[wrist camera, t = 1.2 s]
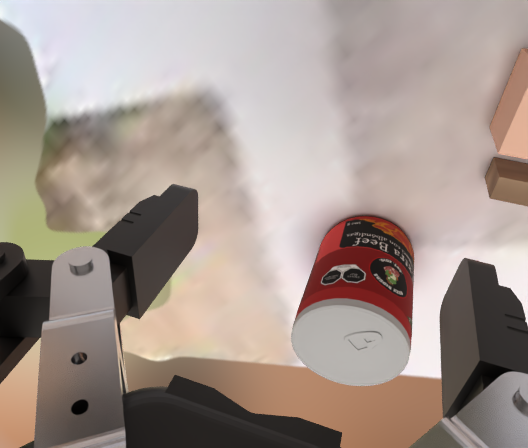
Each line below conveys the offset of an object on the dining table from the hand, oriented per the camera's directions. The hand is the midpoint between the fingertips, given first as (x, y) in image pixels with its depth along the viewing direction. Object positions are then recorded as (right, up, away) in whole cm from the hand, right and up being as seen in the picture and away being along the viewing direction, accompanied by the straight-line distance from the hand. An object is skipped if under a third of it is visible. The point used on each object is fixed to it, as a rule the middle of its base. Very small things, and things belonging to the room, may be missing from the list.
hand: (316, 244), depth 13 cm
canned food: (+7, -2, +24) cm, 25 cm away
